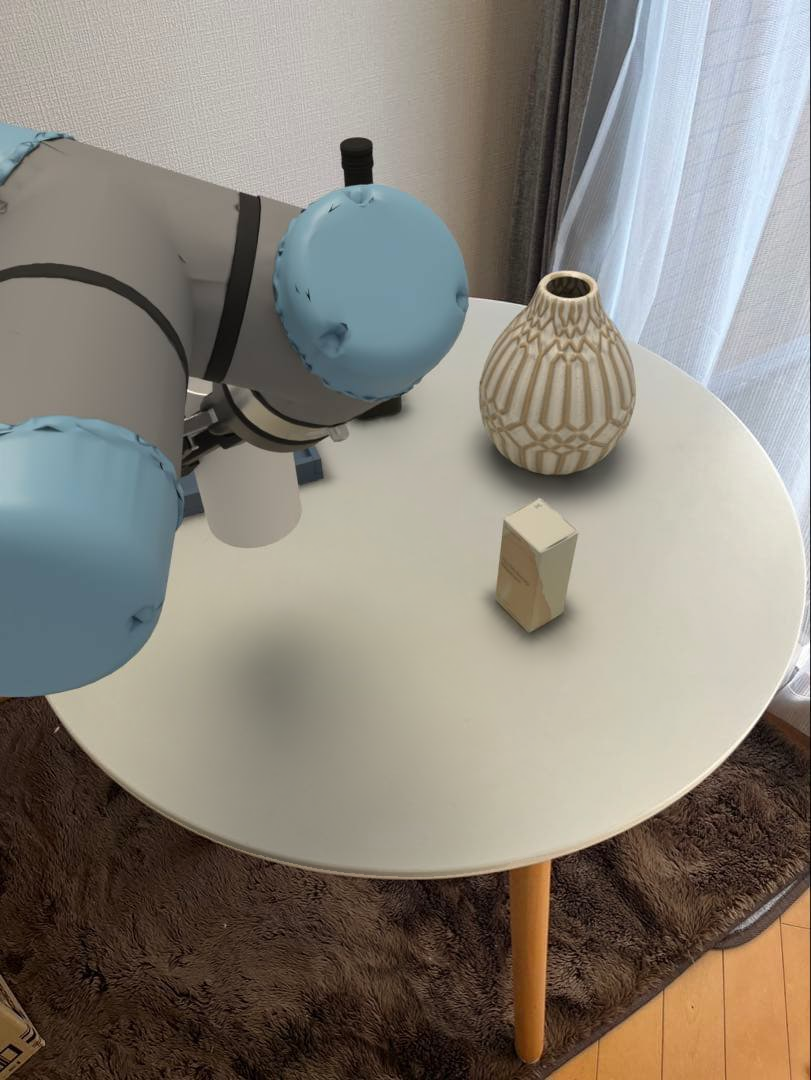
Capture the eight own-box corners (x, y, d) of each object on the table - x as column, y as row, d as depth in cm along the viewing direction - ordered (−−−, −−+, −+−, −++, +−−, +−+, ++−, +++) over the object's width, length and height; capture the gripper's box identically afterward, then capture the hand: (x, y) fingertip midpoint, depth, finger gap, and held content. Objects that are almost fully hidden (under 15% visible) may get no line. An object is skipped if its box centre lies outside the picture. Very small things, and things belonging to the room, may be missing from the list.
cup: (294, 550, 67) (267, 397, 57) (198, 546, 68) (155, 394, 57) (308, 483, 72) (286, 332, 62) (218, 481, 73) (182, 330, 62)
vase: (558, 386, 105) (577, 226, 91) (655, 460, 96) (693, 294, 81) (447, 437, 100) (448, 275, 85) (539, 521, 90) (558, 354, 76)
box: (493, 599, 83) (499, 515, 75) (529, 578, 85) (539, 494, 77) (530, 636, 80) (540, 552, 72) (566, 614, 82) (580, 529, 74)
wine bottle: (389, 384, 106) (376, 126, 85) (404, 413, 103) (395, 150, 81) (343, 395, 105) (318, 135, 84) (356, 424, 102) (334, 160, 80)
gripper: (138, 511, 44) (118, 537, 65) (482, 376, 51) (361, 440, 72) (74, 367, 43) (75, 441, 65) (431, 250, 50) (325, 352, 71)
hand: (226, 441), depth 68 cm, fingers closed on cup, 7 cm apart
